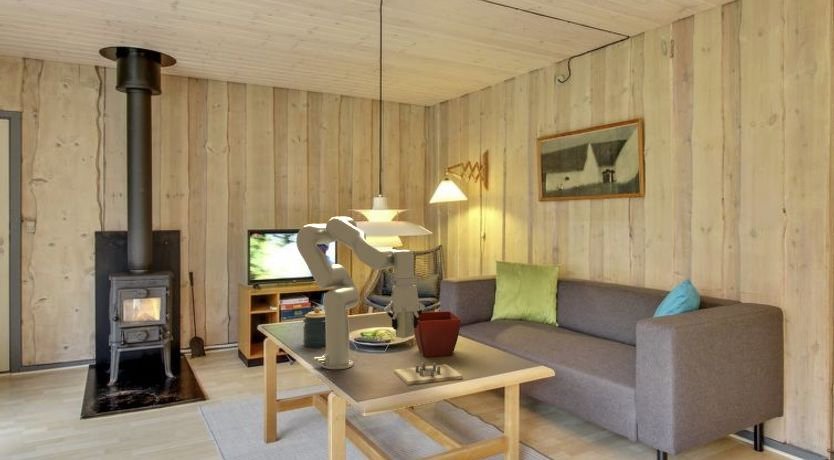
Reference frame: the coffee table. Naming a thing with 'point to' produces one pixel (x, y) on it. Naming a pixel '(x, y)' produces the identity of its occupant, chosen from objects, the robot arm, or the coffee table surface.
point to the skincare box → (405, 324)
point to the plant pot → (437, 333)
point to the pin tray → (427, 374)
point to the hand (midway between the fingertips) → (405, 327)
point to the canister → (315, 329)
